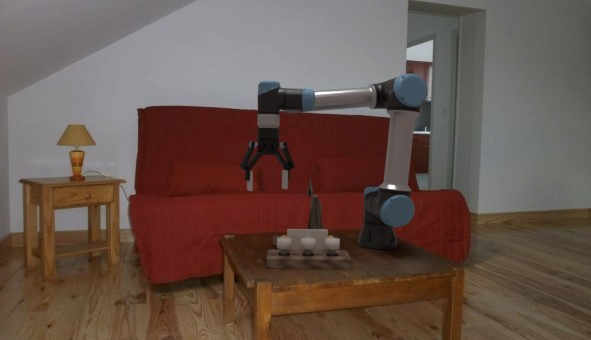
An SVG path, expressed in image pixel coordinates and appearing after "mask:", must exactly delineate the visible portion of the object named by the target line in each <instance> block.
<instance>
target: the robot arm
mask: <svg viewBox="0 0 591 340" xmlns="http://www.w3.org/2000/svg"><path fill="white" fill-rule="evenodd" d="M257 85H258V86H257V126H258V128H257V132H256V133H257V134H256V135H257V137H256V138H257V141H254V140H253V141H249V142H248V144H247V149H246V152H245V154H244V156H243V158H242V160H241V163H240V164H239V169H240V170H242V171H244V180H245V181H246V190H247V191H248V192H249V191H250V192H253V191H254V189H253V188H254V186H253V185H254V183H253V181H254V177H253V176H254V174H253V173H254V171H252V169H253V168H254V167H255V165H256V164H257V162H259V160H260V158H261V157H262V156H263V155H264V156H274V157H275V158H276V160H277V161H278V162H279V164H280V165H281V166H282V170H281V189H283V190H288V188H289V187H288V185H289V180H290V177H291V175H290V173H291V172H290V171H291V170H292V169H294V168H296V165H295V163H294V160H293V158H292V156H291V153H290V151H289V148H288V142H287V141H281V142H280V128H279V127H280V126H281V125H280V124H281V123H280V119H281V118H280V115H281V114H280V113H281V112H280V111H283V112H284V113H285V114H289V115H291V114H293V115H294V114H296V113H299V114H301V113H306V112H307V113H308V112H309V113H311V112H319V111H321V112H322V111H323V112H324V111H332V110H334V111H335V110H346V109H359V108H369V109H370V110H386V114H388V115H389V117H390V118H389V127H388V137H387V148H386V156H385V166H384V175H383V182H382V183H381V184H380V185H378V186H369V187H366V188H364V192H363V220H362V221H363V223H362V227H361V230H360V232H359V236H358V242H357V244H358V245H359V246H361V247H364V248H367V249H374V250H375V249H376V250H388V249H389V250H390V249H395V248H397V246H398V238H397V235H396V231H395V228H400V227H404V226H406V225H408V223H410V222H411V221H412V220H413V218H414V216H415V212H416V206H415V204H414V202H413V200H412V189H411V188H410V186H409V184H408V183H409V177H410V176H409V174H410V168H411V158H412V148H413V137H414V130H415V129H414V128H415V121H416V118H417V117H418V116H419V115H420V114H421V108H422V107H421V106H422V104H424V102H425V101H426V99H427V97H428V92H429V90H428V85H427V83H426V81H425V80H424V79H423V78H422V77H421V76H420V75H418V74H416V73H404V74H400V75H399V76H396V77H393V78H390V79H388V80H386V81H382V82H378V83H377V82H376V83H371V84H369V85H368V86H365V87H352V88H351V87H349V88H340V89H339V88H338V89H326V90H325V89H324V90H313V89H309V88H308V89H307V88H290V87H289V88H288V87H287V88H285V87H281V83H280V82H279V81H277V80H262V81H260V82H259V83H258V84H257ZM256 148H257V150H256V151H255V149H256ZM279 148H280V150H281V151H280V150H279ZM254 151H255V153H254ZM253 153H254V155H253ZM281 153H282V154H281ZM251 157H252V158H251ZM394 227H395V228H394Z"/></svg>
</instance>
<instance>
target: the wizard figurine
mask: <svg viewBox="0 0 591 340" xmlns="http://www.w3.org/2000/svg"><path fill="white" fill-rule="evenodd" d="M306 196H308V197H310V198H311V200H310V203H309V206H310V209H309V213H308V223H307V228H306V229H324V228H323V227H324V226H323V215H322V210H323V207H322V203H321V201H320V199H319V197H318V194H314V190H313V185H312V180H311V178H310V179H309V184H308V186H307V191H306Z"/></svg>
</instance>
